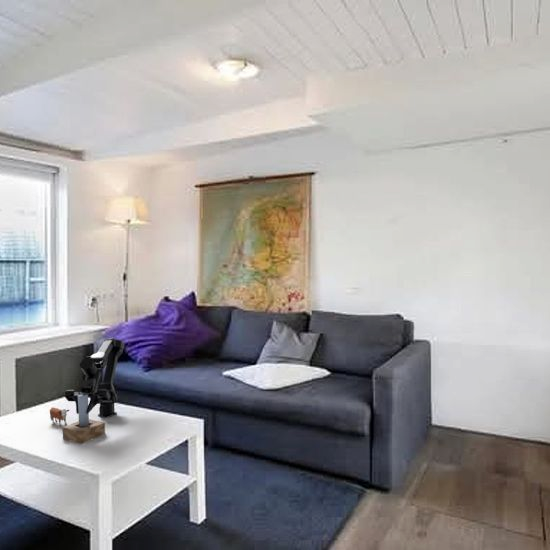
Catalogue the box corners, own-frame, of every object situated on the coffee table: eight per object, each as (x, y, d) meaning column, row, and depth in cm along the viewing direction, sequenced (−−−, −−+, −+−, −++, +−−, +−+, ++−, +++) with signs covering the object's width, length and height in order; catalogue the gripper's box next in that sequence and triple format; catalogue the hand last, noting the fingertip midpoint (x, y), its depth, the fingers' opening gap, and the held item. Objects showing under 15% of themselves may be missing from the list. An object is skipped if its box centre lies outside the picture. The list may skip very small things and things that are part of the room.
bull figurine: (62, 428, 208) (62, 411, 208) (48, 422, 216) (47, 405, 216) (71, 425, 212) (71, 408, 211) (57, 420, 220) (56, 403, 219)
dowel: (87, 424, 201) (86, 393, 201) (90, 427, 198) (88, 395, 198) (78, 427, 199) (76, 395, 198) (80, 429, 196) (79, 397, 195)
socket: (86, 429, 207) (86, 418, 206) (105, 433, 201) (104, 422, 201) (62, 438, 196) (62, 427, 196) (81, 443, 190) (81, 431, 190)
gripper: (64, 372, 202) (53, 405, 191) (107, 371, 201) (98, 404, 191) (73, 384, 210) (63, 417, 199) (114, 384, 210) (105, 416, 199)
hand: (82, 413), depth 197 cm, fingers closed on dowel, 4 cm apart
